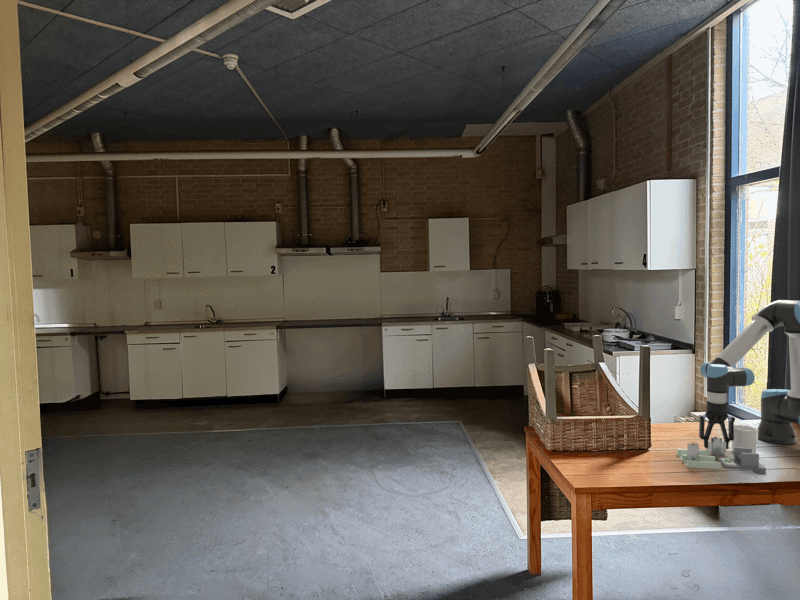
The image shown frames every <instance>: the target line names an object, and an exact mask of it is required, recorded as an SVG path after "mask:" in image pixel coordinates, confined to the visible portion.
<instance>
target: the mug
mask: <svg viewBox="0 0 800 600" xmlns="http://www.w3.org/2000/svg"><path fill="white" fill-rule="evenodd" d="M757 429H758V428H756V427H753V426H750V425H745V424H734V440H733V441H731V451H732V452H733V453H734V447H742V448H752V453H757V444H758V442H759V439H758V431H759V430H757Z"/></svg>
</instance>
